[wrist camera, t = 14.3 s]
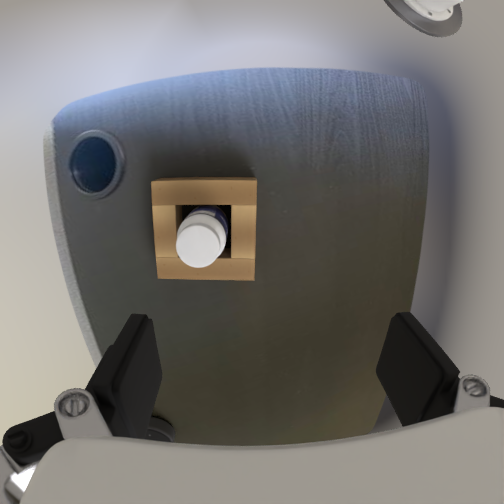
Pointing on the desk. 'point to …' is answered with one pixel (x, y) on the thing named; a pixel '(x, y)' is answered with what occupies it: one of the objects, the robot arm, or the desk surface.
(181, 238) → the pill bottle
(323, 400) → the desk surface
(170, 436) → the smart speaker
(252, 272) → the holder
